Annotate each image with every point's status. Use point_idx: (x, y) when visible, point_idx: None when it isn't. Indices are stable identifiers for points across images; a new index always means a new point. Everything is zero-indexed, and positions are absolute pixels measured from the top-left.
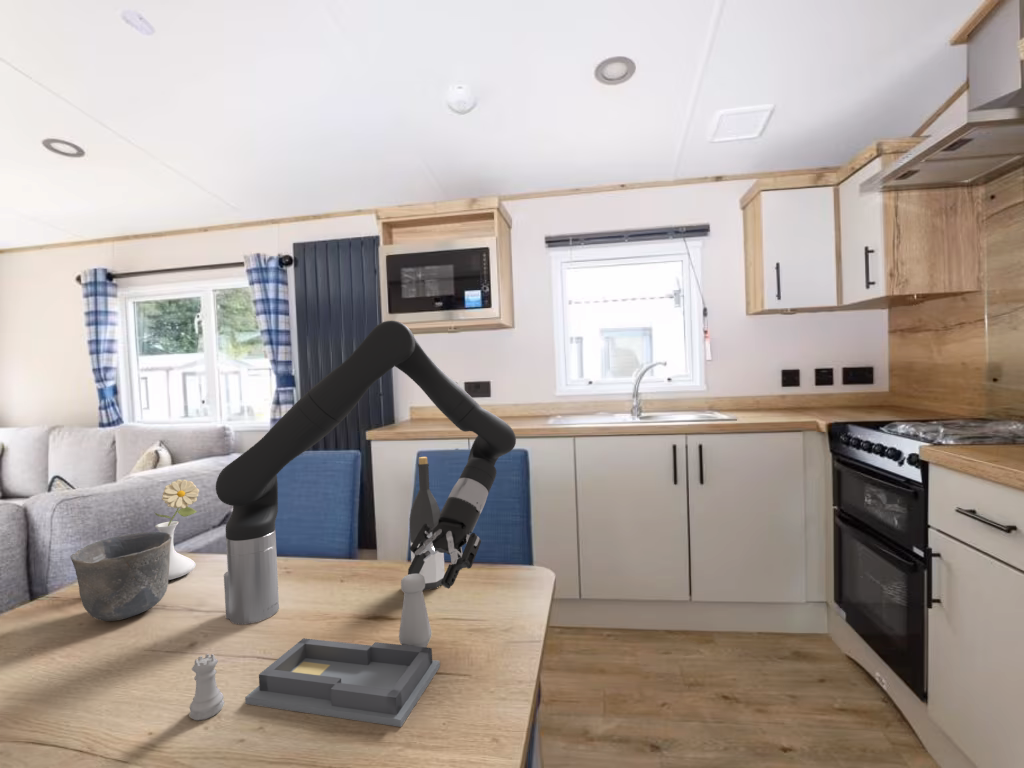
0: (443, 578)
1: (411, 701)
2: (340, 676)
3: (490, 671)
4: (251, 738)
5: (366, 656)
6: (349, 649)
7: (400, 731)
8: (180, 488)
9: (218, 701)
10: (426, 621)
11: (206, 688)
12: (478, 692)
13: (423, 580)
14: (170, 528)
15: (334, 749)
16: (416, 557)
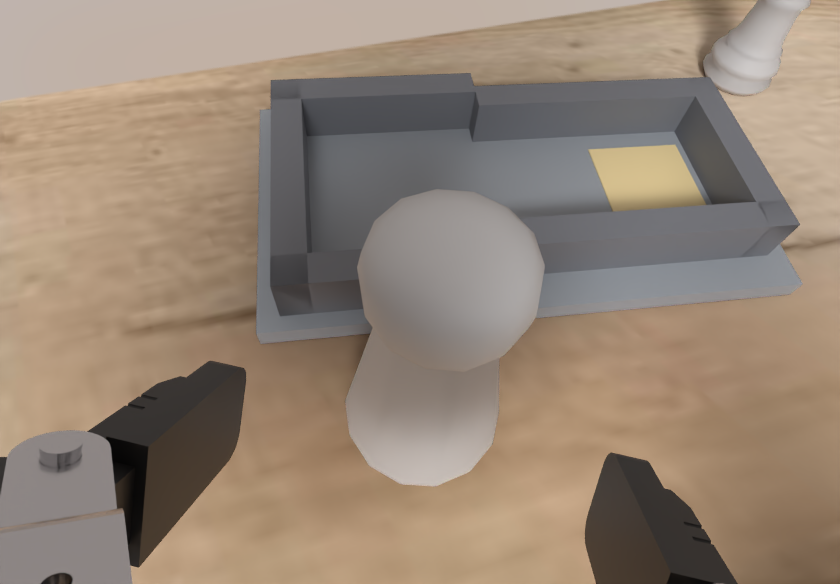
0: (220, 375)
1: (263, 159)
2: (538, 192)
3: (48, 370)
4: (562, 50)
5: None
6: (580, 216)
7: (258, 115)
8: None
9: (719, 56)
10: (357, 382)
11: (750, 10)
12: (79, 265)
13: (364, 272)
14: None
15: (375, 60)
16: (698, 569)
